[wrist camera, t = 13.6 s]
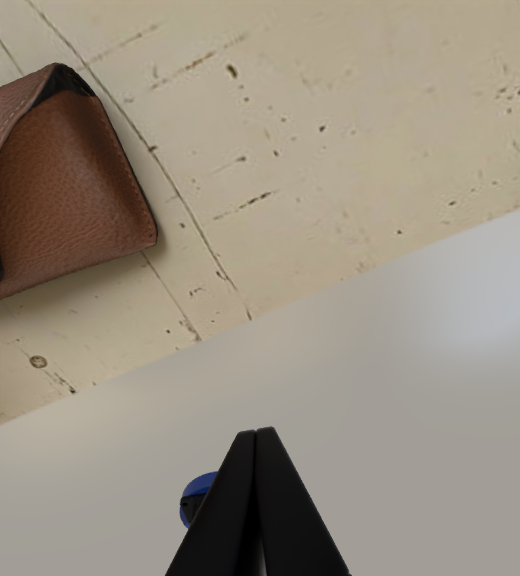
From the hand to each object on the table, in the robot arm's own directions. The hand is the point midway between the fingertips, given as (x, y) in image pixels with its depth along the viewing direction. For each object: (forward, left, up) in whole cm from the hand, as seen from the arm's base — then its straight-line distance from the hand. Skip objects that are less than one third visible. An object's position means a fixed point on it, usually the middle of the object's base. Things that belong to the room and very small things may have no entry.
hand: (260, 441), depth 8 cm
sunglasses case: (+5, +14, -12) cm, 19 cm away
